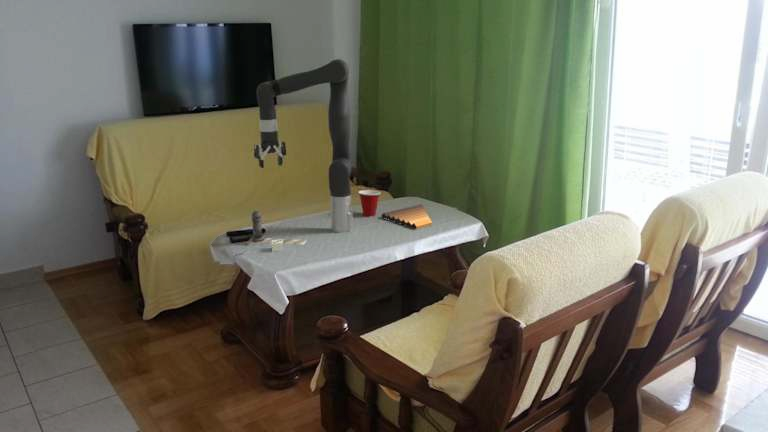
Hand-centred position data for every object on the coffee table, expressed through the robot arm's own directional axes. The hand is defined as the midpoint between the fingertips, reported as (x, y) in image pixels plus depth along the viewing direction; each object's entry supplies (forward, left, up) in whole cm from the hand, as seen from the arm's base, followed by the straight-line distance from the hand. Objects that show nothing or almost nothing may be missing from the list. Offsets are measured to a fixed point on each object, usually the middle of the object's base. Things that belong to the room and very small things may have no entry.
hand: (271, 166), depth 269 cm
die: (-10, +26, -30) cm, 41 cm away
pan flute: (-62, -29, -31) cm, 75 cm away
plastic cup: (-38, -32, -30) cm, 58 cm away
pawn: (+2, +16, -29) cm, 33 cm away
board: (-7, +16, -30) cm, 35 cm away
